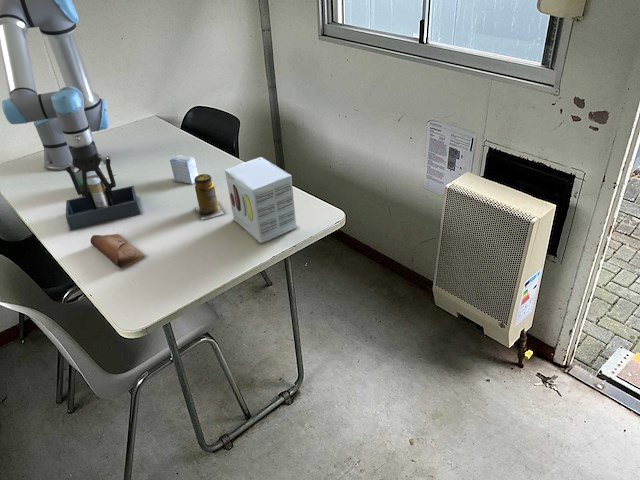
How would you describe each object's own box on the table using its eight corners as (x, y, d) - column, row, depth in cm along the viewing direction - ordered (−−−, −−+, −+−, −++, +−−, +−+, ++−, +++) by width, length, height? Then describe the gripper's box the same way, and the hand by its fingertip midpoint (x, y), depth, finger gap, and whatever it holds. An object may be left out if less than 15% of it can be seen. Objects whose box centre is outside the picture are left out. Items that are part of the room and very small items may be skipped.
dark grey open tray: (71, 212, 171) (66, 200, 168) (137, 197, 177) (133, 185, 174) (70, 230, 161) (65, 217, 159) (140, 214, 167) (136, 201, 165)
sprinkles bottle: (114, 209, 170) (102, 173, 163) (107, 216, 167) (95, 179, 159) (102, 208, 171) (89, 172, 163) (95, 215, 167) (82, 179, 160)
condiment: (216, 202, 171) (210, 170, 164) (224, 214, 164) (217, 181, 157) (195, 208, 168) (187, 176, 161) (202, 220, 162) (194, 187, 155)
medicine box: (199, 179, 186) (194, 157, 181) (192, 184, 182) (187, 162, 178) (182, 175, 189) (177, 154, 184) (174, 181, 185) (169, 159, 180)
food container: (95, 199, 178) (86, 173, 172) (80, 198, 179) (70, 172, 173) (114, 182, 188) (106, 157, 182) (99, 181, 189) (90, 157, 183)
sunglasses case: (146, 255, 147) (130, 244, 141) (130, 274, 145) (113, 264, 140) (117, 233, 157) (101, 222, 152) (102, 251, 156) (85, 240, 151)
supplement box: (232, 220, 160) (222, 169, 150) (268, 206, 167) (261, 155, 156) (260, 244, 149) (252, 190, 138) (298, 228, 155) (292, 174, 145)
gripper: (49, 153, 149) (76, 220, 163) (111, 141, 154) (132, 207, 167) (50, 144, 155) (76, 209, 168) (110, 133, 160) (130, 197, 173)
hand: (103, 208), depth 168 cm, fingers closed on sprinkles bottle, 4 cm apart
